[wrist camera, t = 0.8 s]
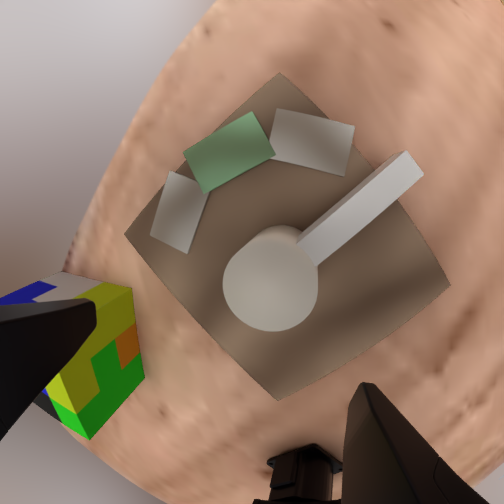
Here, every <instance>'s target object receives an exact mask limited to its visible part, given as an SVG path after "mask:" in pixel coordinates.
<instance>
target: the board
mask: <svg viewBox="0 0 504 504" xmlns="http://www.w3.org/2000/svg"><path fill="white" fill-rule="evenodd" d="M354 129H355V126H352V125H348V124H345V123H341V122H337V121H333V120H330V119H329V118H328V117H327V116H326V115H325V114H324V113H323V112H322V111H321V110H320V109H319V108H318V107H317V106H316V105H315V104H314V103H313V102H312V101H311V100H310V99H309V98H308V97H307V96H305V95H304V94H303V93H302V92H301V91H300V90H299V89H298V88H297V87H296V86H295V85H294V84H292V83H291V82H290V81H289V80H288V79H287V78H286V77H285V76H283V75H282V74H281V73H278V74H277V75H276V76H275V77H273V78H272V79H271V80H270V81H269V82H267V83H266V84H265V85H264V86H263V87H262V88H260V89H259V90H258V91H257V92H256V93H255V94H254V95H252V96H251V97H250V98H249V99H248V100H247V101H246V102H245V103H244V104H242V105H241V106H240V107H239V108H238V109H237V110H236V111H235V112H234V113H233V114H232V115H231V116H230V117H229V118H227V119H226V120H225V121H224V122H223V123H222V124H221V125H220V126H219V127H218V128H217V129H216V130H215V131H214V132H213V133H212V134H211V135H209V136H208V137H206V138H205V139H203V140H201V141H200V142H198V143H197V144H195V145H193V146H192V147H190V148H189V149H187V150H186V151H184V152H183V154H184V156H185V158H186V161H185V162H184V163H183V164H182V165H181V166H180V168H179V169H178V170H177V171H176V172H174V171H169V174H168V177H167V180H166V183H165V184H164V186H163V187H162V188H161V189H160V190H159V191H158V193H157V194H156V195H155V196H154V197H153V198H152V200H151V201H150V202H149V203H148V204H147V206H146V207H145V208H144V209H143V211H142V212H141V213H140V214H139V216H138V217H137V218H136V219H135V221H134V222H133V223H132V224H131V226H130V227H129V228H128V229H127V231H126V232H125V233H124V235H125V236H126V238H127V239H128V240H129V241H130V243H131V244H132V245H133V247H134V248H135V249H136V250H137V252H138V253H139V254H140V255H141V257H142V258H143V259H144V260H145V262H146V263H147V264H148V265H149V267H150V268H151V269H152V270H153V271H154V273H155V274H156V275H157V276H158V277H159V279H160V280H161V281H162V282H163V283H164V285H165V286H166V287H167V288H168V289H169V290H170V292H171V293H172V294H173V295H174V296H175V297H176V298H177V300H178V301H179V302H180V303H181V304H182V305H183V306H184V308H185V309H186V310H187V311H188V312H189V313H190V314H191V315H192V316H193V317H194V319H195V320H196V321H197V322H198V323H199V324H200V325H201V326H202V327H203V328H204V329H205V330H206V332H207V333H208V334H209V335H210V336H211V337H212V338H213V339H214V340H215V341H216V342H217V343H218V344H219V345H220V346H221V347H222V348H223V349H224V350H225V351H226V352H227V353H228V354H229V355H230V356H231V357H232V358H233V359H234V360H235V361H236V362H237V363H238V364H239V365H240V366H241V367H242V368H243V369H244V370H245V371H246V372H247V373H248V374H249V375H250V376H251V377H252V378H253V379H254V380H255V381H256V382H257V383H258V384H260V385H261V386H262V387H263V388H264V389H265V390H266V391H267V392H268V393H269V394H270V395H271V396H273V397H274V398H275V399H276V400H277V401H279V400H281V399H283V398H285V397H287V396H289V395H291V394H293V393H295V392H297V391H299V390H301V389H302V388H304V387H306V386H308V385H310V384H312V383H313V382H315V381H317V380H319V379H321V378H322V377H324V376H326V375H327V374H329V373H331V372H333V371H334V370H336V369H338V368H339V367H341V366H343V365H344V364H346V363H347V362H349V361H351V360H352V359H354V358H355V357H357V356H358V355H360V354H362V353H363V352H365V351H366V350H368V349H369V348H371V347H372V346H374V345H375V344H376V343H378V342H379V341H381V340H382V339H384V338H385V337H386V336H388V335H389V334H391V333H392V332H393V331H395V330H396V329H397V328H399V327H400V326H402V325H403V324H404V323H405V322H407V321H408V320H409V319H411V318H412V317H413V316H415V315H416V314H417V313H418V312H420V311H421V310H422V309H423V308H425V307H426V306H427V305H428V304H429V303H431V302H432V301H433V300H434V299H435V298H437V297H438V296H439V295H440V294H441V293H442V292H444V291H445V290H446V289H447V288H448V287H449V286H450V285H451V284H450V282H449V281H448V279H447V277H446V275H445V273H444V272H443V270H442V268H441V266H440V265H439V263H438V261H437V259H436V258H435V256H434V254H433V253H432V251H431V249H430V248H429V246H428V245H427V243H426V241H425V240H424V238H423V237H422V235H421V234H420V232H419V230H418V229H417V227H416V226H415V224H414V223H413V221H412V220H411V219H410V217H409V216H408V214H407V213H406V211H405V210H404V208H403V207H402V206H401V204H400V203H399V201H398V200H397V199H396V200H395V201H394V202H393V203H392V204H391V205H389V206H388V207H387V208H386V209H385V210H384V211H383V212H381V213H380V214H379V215H378V216H377V217H376V218H374V219H373V220H372V221H371V222H370V223H369V224H367V225H366V226H365V227H364V228H363V229H361V230H360V231H359V232H358V233H357V234H355V235H354V236H353V237H352V238H351V239H349V240H348V241H347V242H346V243H345V244H343V245H342V246H341V247H340V248H338V249H337V250H336V251H335V252H333V253H332V254H331V255H330V256H329V257H327V258H326V259H325V260H324V261H322V262H321V263H320V264H318V295H317V300H316V303H315V305H314V307H313V309H312V311H311V313H310V314H309V315H308V316H307V317H306V318H305V320H303V321H302V322H301V323H300V324H298V325H296V326H294V327H292V328H290V329H287V330H283V331H274V332H271V331H263V330H259V329H256V328H253V327H251V326H249V325H247V324H245V323H244V322H242V321H241V320H240V319H239V318H238V317H237V316H236V315H235V314H234V313H233V312H232V311H231V309H230V308H229V306H228V304H227V302H226V299H225V296H224V292H223V276H224V272H225V269H226V266H227V265H228V263H229V261H230V260H231V258H232V257H233V256H234V255H235V254H236V253H237V252H238V251H239V250H240V249H241V248H243V247H244V246H245V245H246V244H247V243H248V242H249V241H251V240H252V239H253V238H254V237H255V236H256V235H257V234H258V233H260V232H261V231H263V230H264V229H266V228H269V227H271V226H276V225H287V226H291V227H294V228H297V229H299V230H300V231H302V232H303V231H304V230H306V229H307V228H308V227H309V226H310V225H312V224H313V223H314V222H315V221H316V220H317V219H319V218H320V217H321V216H322V215H323V214H325V213H326V212H327V211H328V210H329V209H330V208H332V207H333V206H334V205H335V204H336V203H338V202H339V201H340V200H341V199H342V198H343V197H345V196H346V195H347V194H348V193H349V192H350V191H352V190H353V189H354V188H355V187H356V186H357V185H359V184H360V183H361V182H362V181H363V180H364V179H366V178H367V177H368V176H369V175H370V174H371V173H372V172H374V171H375V170H374V169H373V168H372V166H371V165H370V164H369V163H368V162H367V160H366V159H365V158H364V157H363V156H362V154H361V153H360V152H359V151H358V150H357V149H356V148H355V146H354V145H353V144H352V139H353V134H354Z"/></svg>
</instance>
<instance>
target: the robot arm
mask: <svg viewBox="0 0 504 504" xmlns="http://www.w3.org/2000/svg"><path fill="white" fill-rule="evenodd" d="M96 326H97V315H96V305H95V303H94V302H93V301H92V300H89V299H87V298H77V299H67V300H57V301H47V302H36V303H24V304H12V305H0V441H1V440H2V438H3V437H4V436H5V435H6V433H7V432H8V430H9V429H10V428H11V427H12V426H13V425H14V423H15V422H16V421H17V420H18V419H19V417H20V416H21V415H22V414H23V413H24V411H25V410H26V409H27V408H28V407H29V406H30V404H31V403H32V402H33V401H34V400H35V399H36V398H37V396H38V395H39V394H40V393H41V392H42V391H43V390H44V388H45V387H46V386H47V385H48V384H49V383H50V382H51V381H52V380H53V378H54V377H55V376H56V375H57V374H58V373H59V372H60V371H61V370H62V369H63V368H64V367H65V365H66V364H67V363H68V362H69V361H70V360H71V359H72V358H73V357H74V355H75V354H76V353H77V352H78V350H79V349H80V348H81V346H82V345H83V344H84V342H85V341H86V340H87V339H88V337H89V336H90V335H91V333H92V332H93V331H94V330H95V328H96ZM267 465H269V466H270V467H272V468H273V469H274V470H273V474H272V478H271V483H270V488H271V491H270V496H269V500H268V501H267V500H260V499H254V501H253V503H252V504H489V503H488V502H487V501H486V500H485V499H484V498H482V497H481V496H480V495H479V494H478V493H477V492H476V491H474V490H473V489H472V488H471V487H470V486H469V485H468V484H467V483H466V482H464V481H463V480H462V479H461V478H460V477H459V476H458V475H457V474H456V473H455V472H454V471H453V470H452V469H451V468H450V467H449V466H448V464H447V463H446V462H445V461H444V460H443V459H442V458H441V457H439V455H438V454H437V452H436V451H435V450H434V449H433V448H432V447H431V446H430V445H429V444H428V442H427V441H426V440H425V439H424V438H423V437H422V436H421V435H420V434H419V433H418V431H417V430H416V429H415V428H414V427H413V426H412V425H411V424H410V423H409V421H408V420H407V419H406V418H405V417H404V416H403V415H402V414H401V413H400V412H399V410H398V409H397V408H396V407H395V406H394V405H393V404H392V403H391V402H390V401H389V399H388V398H387V397H386V396H385V395H384V394H383V393H382V392H381V391H380V389H379V388H378V387H377V386H376V385H375V384H373V383H366V382H362V383H360V385H359V386H358V388H357V390H356V392H355V394H354V395H353V397H352V399H351V401H350V404H349V407H348V416H347V425H346V433H345V441H344V449H343V464H342V463H340V462H339V461H338V460H336V459H335V458H333V457H332V456H331V455H329V454H328V453H327V452H325V451H324V450H323V449H321V448H320V447H319V446H317V445H315V444H312V445H309V446H306V447H304V448H301V449H298V450H295V451H293V452H290V453H287V454H284V455H281V456H278V457H275V458H271V459H268V460H267ZM342 471H343V477H342V497H341V499H338V500H332V488H333V474H336V473H339V472H342Z"/></svg>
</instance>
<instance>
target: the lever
mask: <svg viewBox="0 0 504 504" xmlns="http://www.w3.org/2000/svg"><path fill="white" fill-rule="evenodd" d="M423 175H424V173H423V172H422V170H421V169H420V168H419V166H418V165H417V163H416V162H415V161H414V159H413V158H412V157H411V155H410V154H409V153H408V152H407V150H405V151H402V152H399V153H397V154H394V155H392V156H391V157H390V158H389V159H387V160H386V161H385V162H384V163H383V164H382V165H381V166H379V167H378V168H377V169H376V170H375V171H374V172H372V173H371V174H370V175H369V176H368V177H367V178H366V179H364V180H363V181H362V182H361V183H360V184H359V185H357V186H356V187H355V188H354V189H353V190H352V191H350V192H349V193H348V194H347V195H346V196H345V197H343V198H342V199H341V200H340V201H339V202H338V203H336V204H335V205H334V206H333V207H332V208H330V209H329V210H328V211H327V212H326V213H325V214H323V215H322V216H321V217H320V218H319V219H317V220H316V221H315V222H314V223H313V224H312V225H310V226H309V227H308V228H307V229H306V230H304V231H303V232H302V231H300V230H299V229H297V228H294V227H291V226H287V225H276V226H271V227H269V228H266V229H264V230H263V231H261V232H260V233H258V234H257V235H256V236H255V237H254V238H253V239H252V240H251V241H249V242H248V243H247V244H246V245H245V246H244V247H243V248H241V249H240V250H239V251H238V252H237V253H236V254H235V255H234V256H233V257H232V258H231V260H230V261H229V263H228V265H227V266H226V269H225V272H224V276H223V292H224V296H225V299H226V302H227V304H228V306H229V308H230V309H231V311H232V312H233V313H234V314H235V315H236V316H237V317H238V318H239V319H240V320H241V321H242V322H244V323H245V324H247V325H249V326H251V327H253V328H256V329H259V330H263V331H271V332H274V331H283V330H287V329H290V328H292V327H294V326H296V325H298V324H300V323H301V322H302V321H303V320H305V318H306V317H307V316H308V315H309V314H310V313H311V311H312V309H313V307H314V305H315V303H316V300H317V295H318V264H320V263H321V262H322V261H324V260H325V259H326V258H327V257H329V256H330V255H331V254H332V253H333V252H335V251H336V250H337V249H338V248H340V247H341V246H342V245H343V244H345V243H346V242H347V241H348V240H349V239H351V238H352V237H353V236H354V235H355V234H357V233H358V232H359V231H360V230H361V229H363V228H364V227H365V226H366V225H367V224H369V223H370V222H371V221H372V220H373V219H374V218H376V217H377V216H378V215H379V214H380V213H381V212H383V211H384V210H385V209H386V208H387V207H388V206H389V205H391V204H392V203H393V202H394V201H395V200H396V199H397V198H399V197H400V196H401V195H402V194H403V193H404V192H405V191H406V190H408V189H409V188H410V187H411V186H412V185H413V184H414V183H415V182H416V181H418V180H419V179H420V178H421V177H422V176H423Z"/></svg>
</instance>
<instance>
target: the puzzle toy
mask: <svg viewBox="0 0 504 504" xmlns="http://www.w3.org/2000/svg"><path fill="white" fill-rule="evenodd" d="M77 298H87V299H89V300H92V301H93V302H94V303H95V305H96V315H97V326H96V328H95V330H94V331H93V332H92V333H91V335H90V336H89V337H88V339H87V340H86V341H85V342H84V344H83V345H82V346H81V348H80V349H79V350H78V352H77V353H76V354H75V355H74V357H73V358H72V359H71V360H70V361H69V362H68V363H67V364H66V365H65V367H64V368H63V369H62V370H61V371H60V372H59V373H58V374H57V375H56V376H55V377H54V378H53V380H52V381H51V382H50V383H49V384H48V385H47V386H46V387H45V388H44V390H43V391H42V392H41V393H40V394H39V395H38V396H37V398H36V399H35V400H34V401H33V402H34V403H35V404H36V405H38V406H39V407H40V408H42V409H43V410H44V411H46V412H47V413H48V414H50V415H51V416H53V417H54V418H55V419H57V420H58V421H60V422H61V423H63V424H64V425H66V426H67V427H69V428H70V429H72V430H73V431H75V432H77V433H78V434H80V435H81V436H83V437H85V438H86V439H88V440H90V439H91V438H92V437H93V436H94V435H95V434H96V433H97V431H98V430H99V429H100V428H101V427H102V426H103V425H104V424H105V422H106V421H107V420H108V419H109V418H110V417H111V416H112V415H113V413H114V412H115V411H116V410H117V409H118V408H119V407H120V405H121V404H122V403H123V402H124V401H125V400H126V399H127V398H128V396H129V395H130V394H131V393H132V392H133V391H134V390H135V388H136V387H137V386H138V385H139V384H140V383H141V382H142V381H143V379H144V378H145V376H144V371H143V366H142V360H141V354H140V348H139V342H138V336H137V329H136V321H135V313H134V305H133V295H132V288H128V287H124V286H119V285H115V284H110V283H106V282H102V281H98V280H94V279H89V278H85V277H81V276H77V275H74V274H70V273H66V272H62V271H61V272H58V273H56V274H53V275H51V276H49V277H46V278H44V279H42V280H40V281H37V282H35V283H33V284H30V285H28V286H26V287H23V288H21V289H19V290H17V291H15V292H13V293H10V294H8V295H6V296H4V297H2V298H0V305H12V304H24V303H36V302H47V301H57V300H67V299H77Z"/></svg>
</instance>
